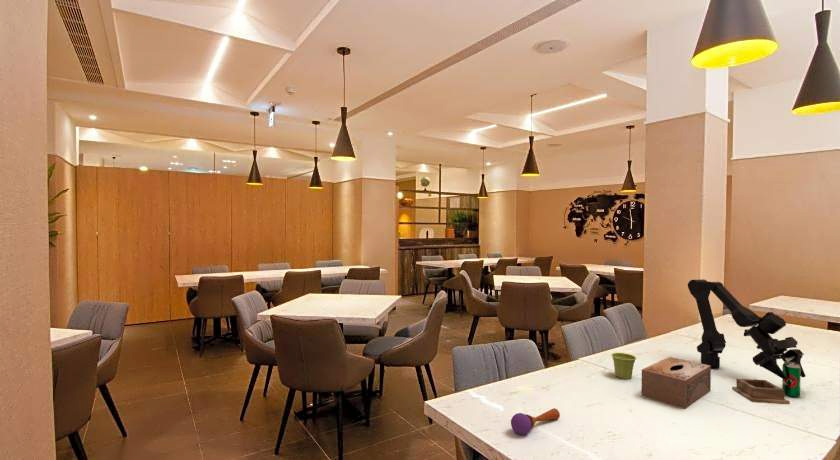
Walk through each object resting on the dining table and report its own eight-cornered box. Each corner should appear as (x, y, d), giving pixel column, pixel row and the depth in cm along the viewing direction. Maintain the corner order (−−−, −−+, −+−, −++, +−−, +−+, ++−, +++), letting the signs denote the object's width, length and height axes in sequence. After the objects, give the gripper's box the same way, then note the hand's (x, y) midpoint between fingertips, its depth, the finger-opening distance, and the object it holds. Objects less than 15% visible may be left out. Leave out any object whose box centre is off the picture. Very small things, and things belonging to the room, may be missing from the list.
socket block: (732, 389, 161) (732, 377, 161) (766, 391, 159) (766, 379, 159) (752, 401, 149) (752, 389, 149) (789, 404, 147) (789, 391, 147)
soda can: (803, 398, 152) (804, 366, 152) (787, 397, 153) (788, 365, 153) (794, 393, 157) (794, 361, 157) (779, 392, 158) (779, 360, 158)
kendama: (565, 410, 133) (524, 422, 121) (561, 427, 133) (519, 441, 122) (549, 400, 137) (508, 411, 126) (546, 417, 138) (505, 429, 126)
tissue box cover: (685, 409, 143) (685, 380, 143) (641, 396, 154) (641, 369, 154) (710, 391, 159) (710, 365, 159) (669, 380, 170) (669, 356, 170)
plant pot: (635, 374, 176) (635, 354, 176) (636, 382, 168) (636, 360, 168) (611, 371, 180) (611, 351, 180) (611, 378, 172) (611, 357, 172)
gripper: (760, 330, 157) (792, 369, 146) (798, 328, 161) (832, 365, 150) (740, 345, 165) (769, 383, 154) (776, 343, 169) (807, 379, 158)
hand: (794, 377), depth 154 cm, fingers open, 9 cm apart
